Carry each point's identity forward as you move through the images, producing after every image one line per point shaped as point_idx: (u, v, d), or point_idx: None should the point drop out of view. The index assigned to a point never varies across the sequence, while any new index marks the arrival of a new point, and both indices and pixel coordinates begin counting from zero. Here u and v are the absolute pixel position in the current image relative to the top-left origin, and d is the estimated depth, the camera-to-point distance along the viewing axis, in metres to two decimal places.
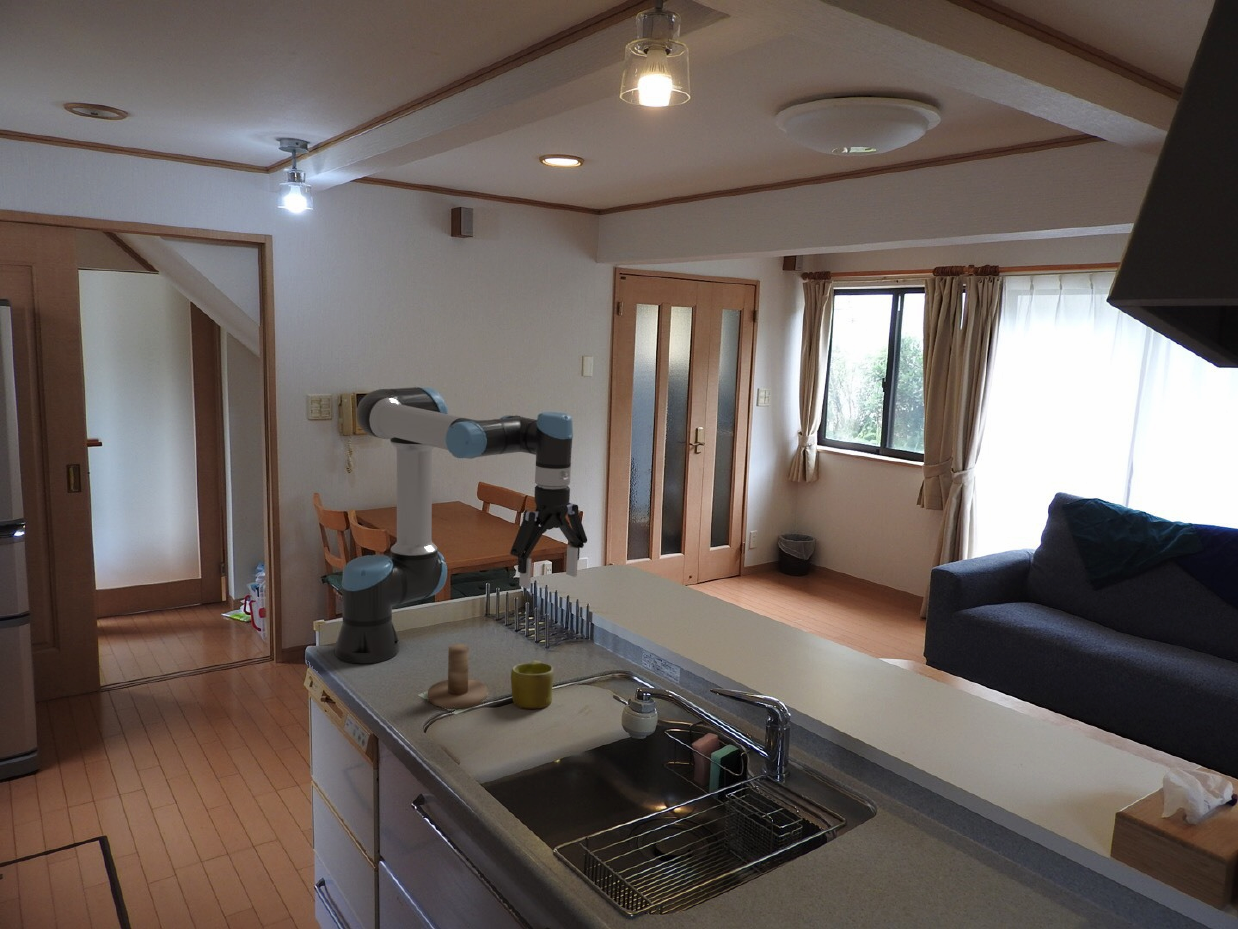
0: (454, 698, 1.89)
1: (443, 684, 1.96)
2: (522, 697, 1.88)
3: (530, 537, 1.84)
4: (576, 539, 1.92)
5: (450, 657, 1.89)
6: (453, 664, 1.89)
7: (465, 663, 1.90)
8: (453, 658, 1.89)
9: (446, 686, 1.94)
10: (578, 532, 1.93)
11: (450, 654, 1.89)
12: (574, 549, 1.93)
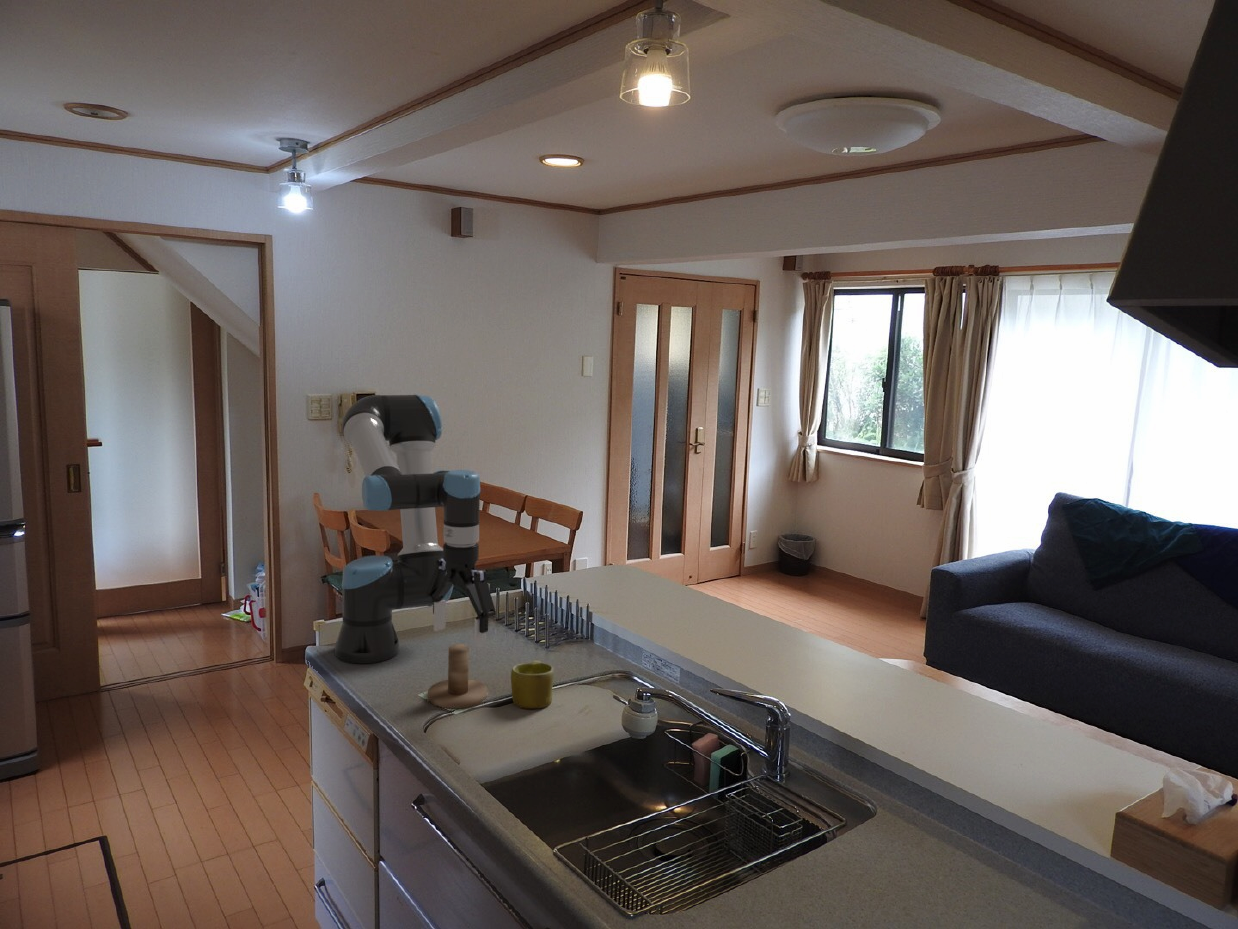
0: (454, 698, 1.89)
1: (443, 684, 1.96)
2: (522, 697, 1.88)
3: None
4: (476, 608, 1.83)
5: (450, 657, 1.89)
6: (453, 664, 1.89)
7: (465, 663, 1.90)
8: (453, 658, 1.89)
9: (446, 686, 1.94)
10: None
11: (450, 654, 1.89)
12: None
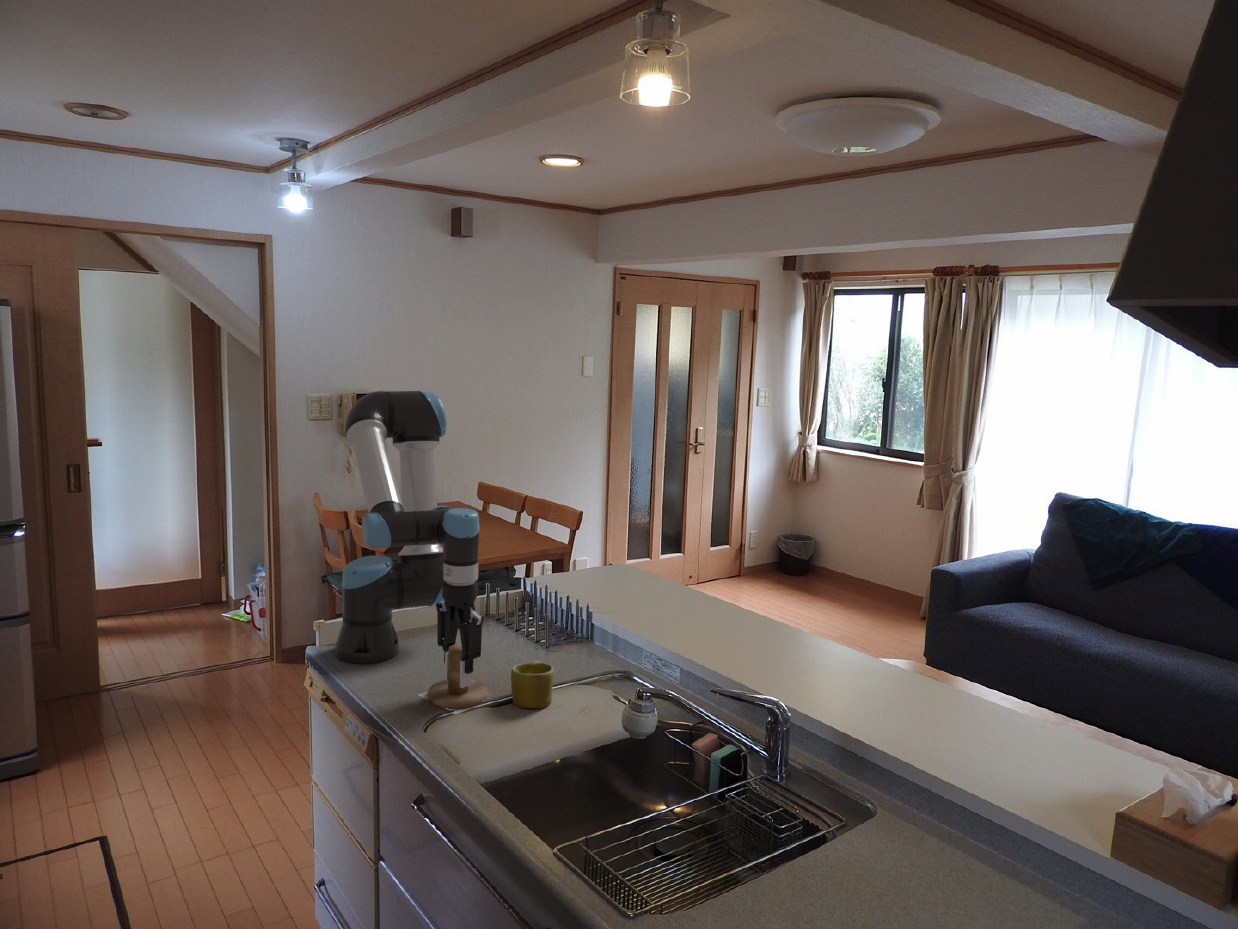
0: (454, 698, 1.89)
1: (443, 684, 1.96)
2: (522, 697, 1.88)
3: None
4: (464, 650, 1.88)
5: (450, 657, 1.89)
6: (453, 664, 1.89)
7: None
8: (453, 658, 1.89)
9: (446, 686, 1.95)
10: None
11: (450, 654, 1.89)
12: None
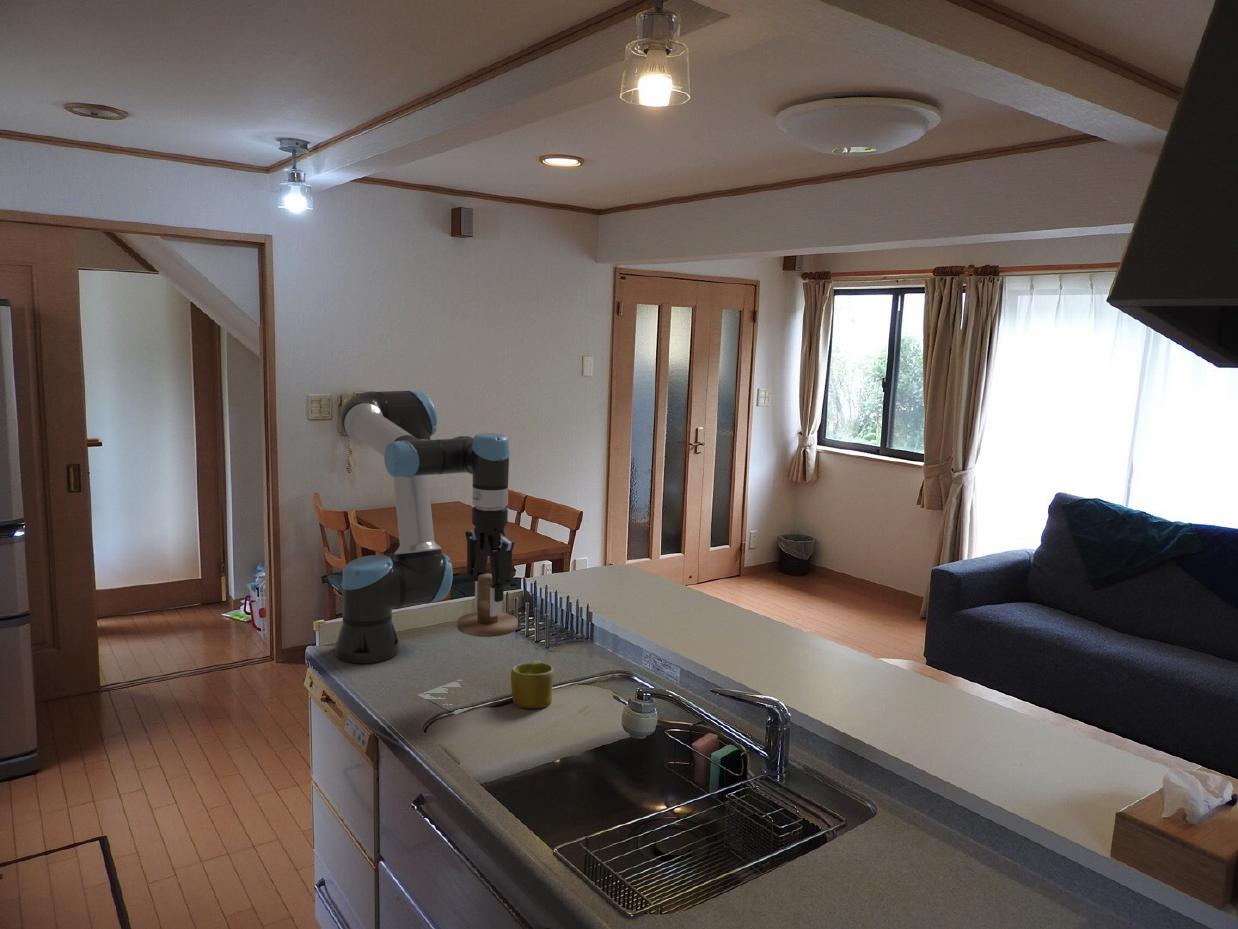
0: (483, 627, 1.86)
1: (473, 615, 1.93)
2: (522, 697, 1.88)
3: None
4: (494, 577, 1.85)
5: (480, 585, 1.87)
6: (483, 592, 1.86)
7: None
8: (482, 586, 1.86)
9: (476, 617, 1.91)
10: None
11: (480, 582, 1.86)
12: None
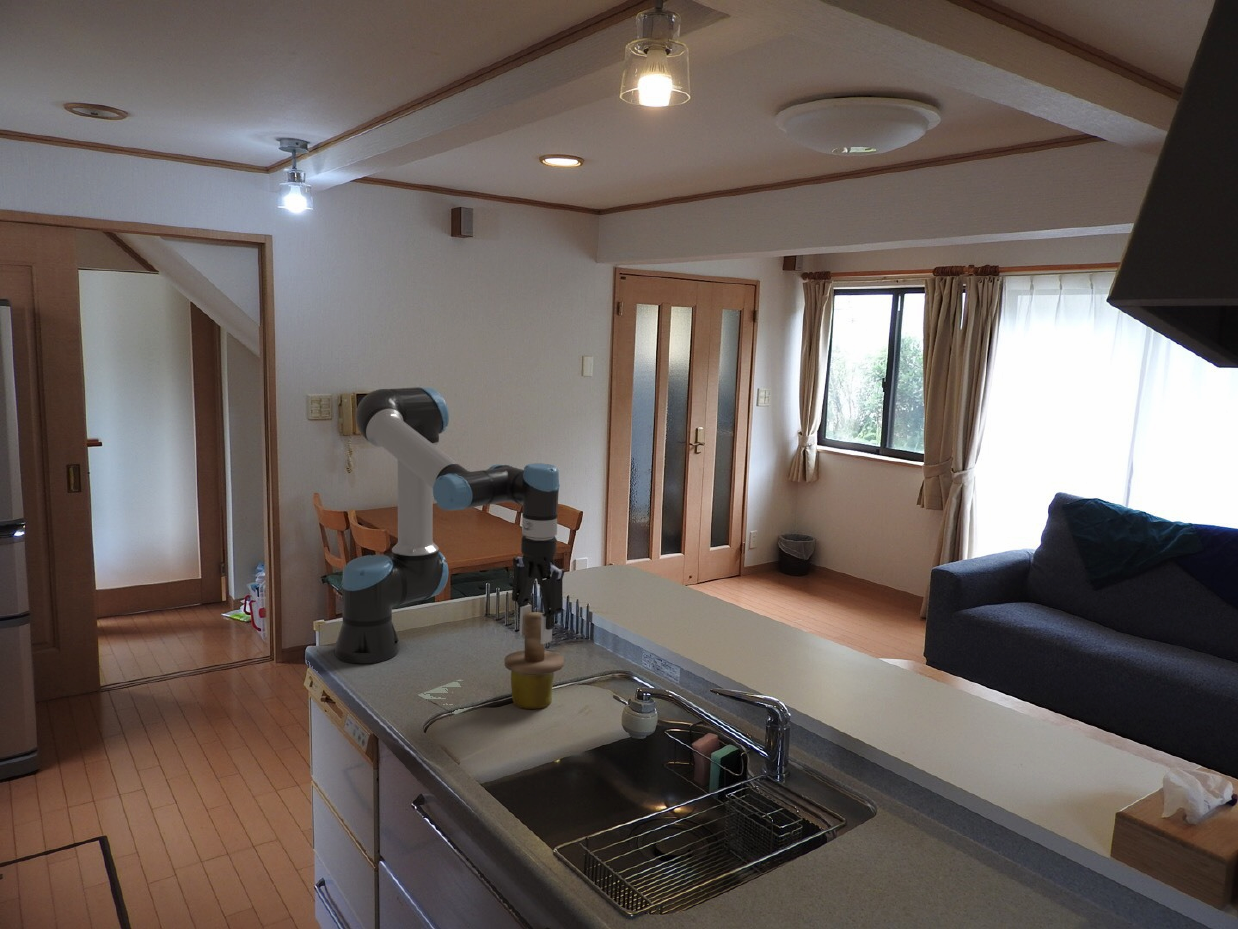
0: (532, 664, 1.89)
1: (518, 654, 1.95)
2: (522, 697, 1.88)
3: None
4: (545, 605, 1.87)
5: (527, 623, 1.90)
6: (531, 630, 1.90)
7: None
8: (530, 624, 1.90)
9: (521, 655, 1.94)
10: None
11: (527, 620, 1.90)
12: None
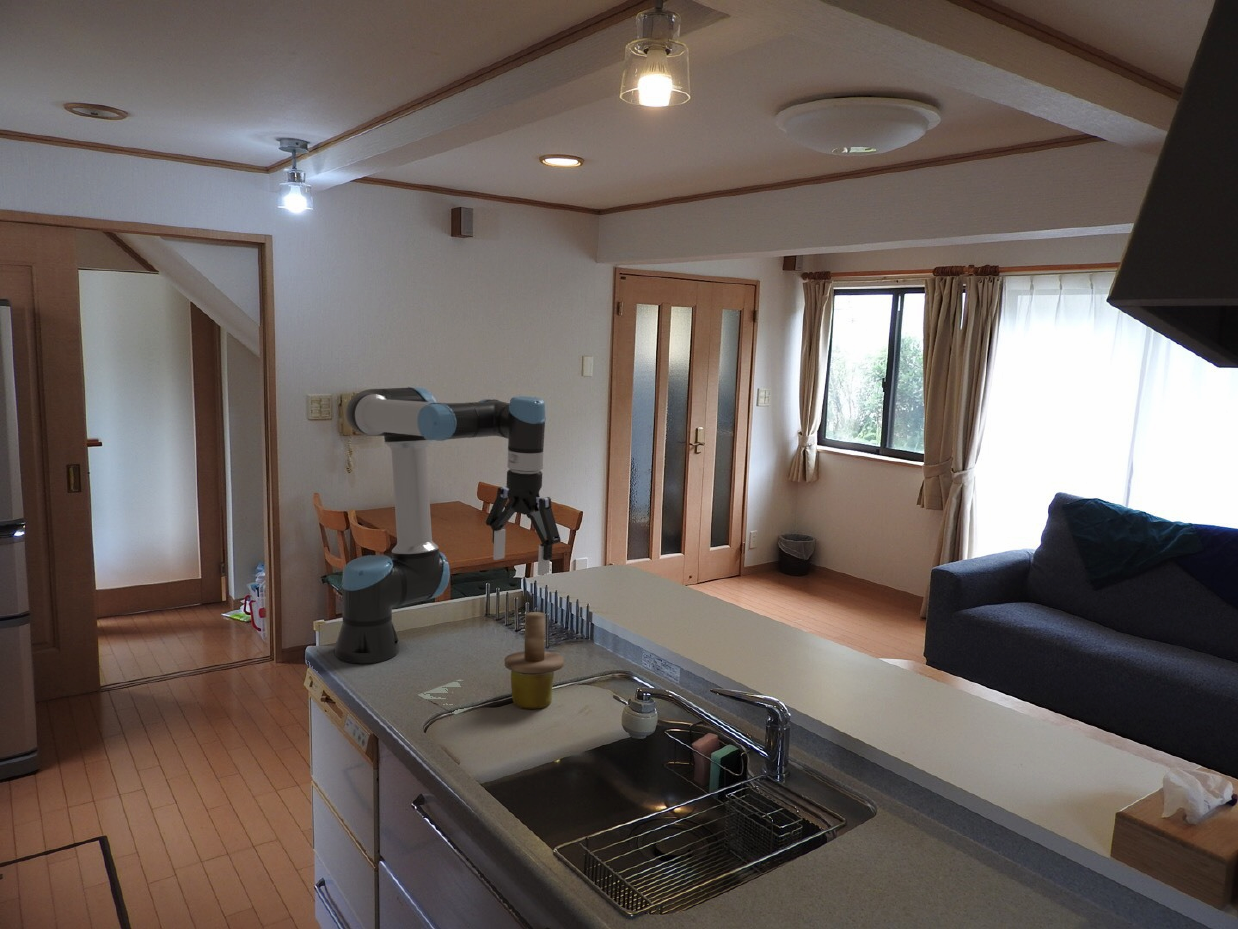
0: (532, 664, 1.89)
1: (518, 654, 1.95)
2: (522, 697, 1.88)
3: None
4: (541, 535, 1.82)
5: (527, 623, 1.90)
6: (531, 630, 1.90)
7: (542, 628, 1.91)
8: (530, 624, 1.90)
9: (521, 656, 1.94)
10: None
11: (527, 620, 1.90)
12: None
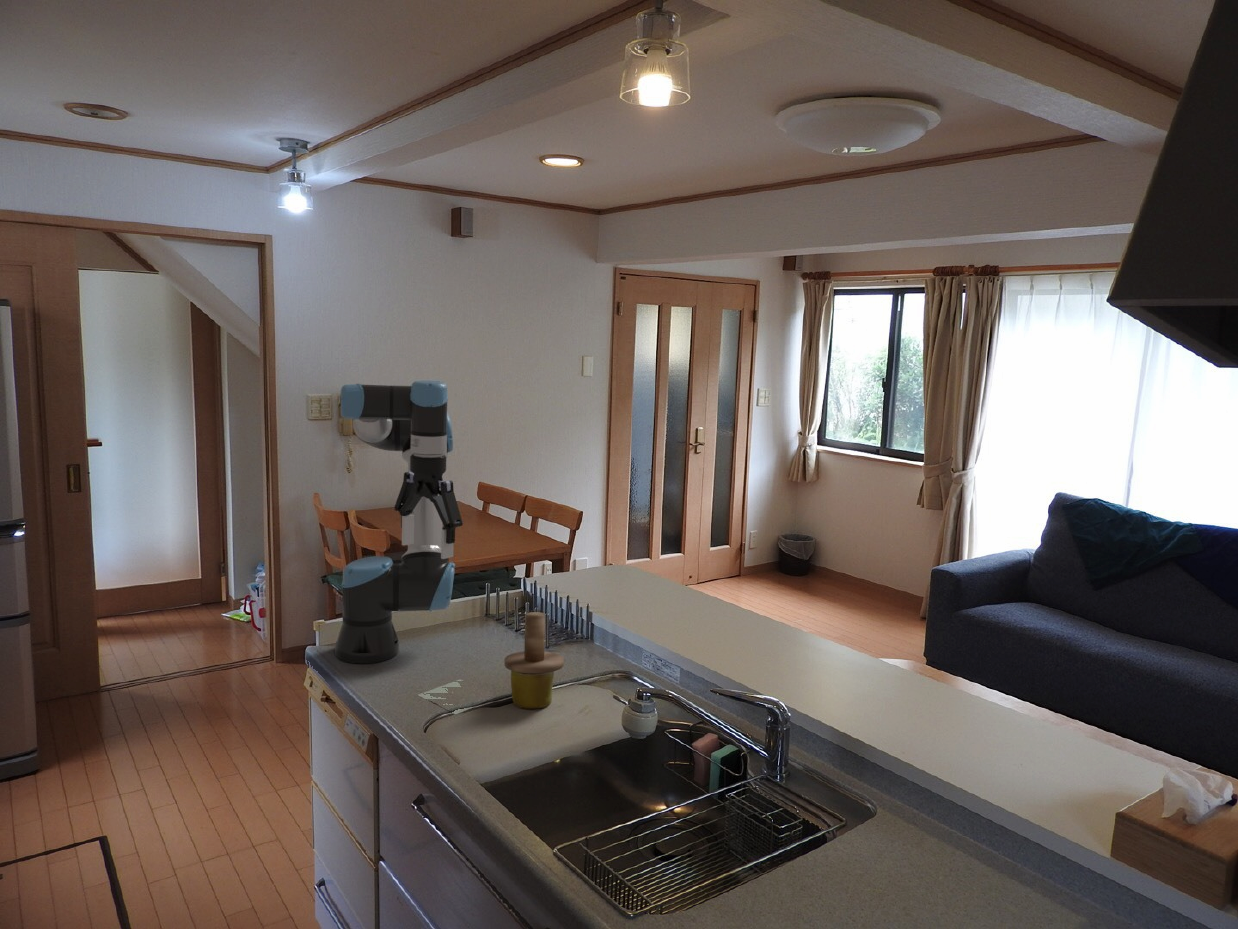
0: (532, 664, 1.89)
1: (518, 654, 1.95)
2: (522, 697, 1.88)
3: None
4: (443, 519, 1.82)
5: (527, 623, 1.90)
6: (531, 630, 1.90)
7: (542, 628, 1.91)
8: (530, 624, 1.90)
9: (521, 656, 1.94)
10: None
11: (527, 620, 1.90)
12: None
